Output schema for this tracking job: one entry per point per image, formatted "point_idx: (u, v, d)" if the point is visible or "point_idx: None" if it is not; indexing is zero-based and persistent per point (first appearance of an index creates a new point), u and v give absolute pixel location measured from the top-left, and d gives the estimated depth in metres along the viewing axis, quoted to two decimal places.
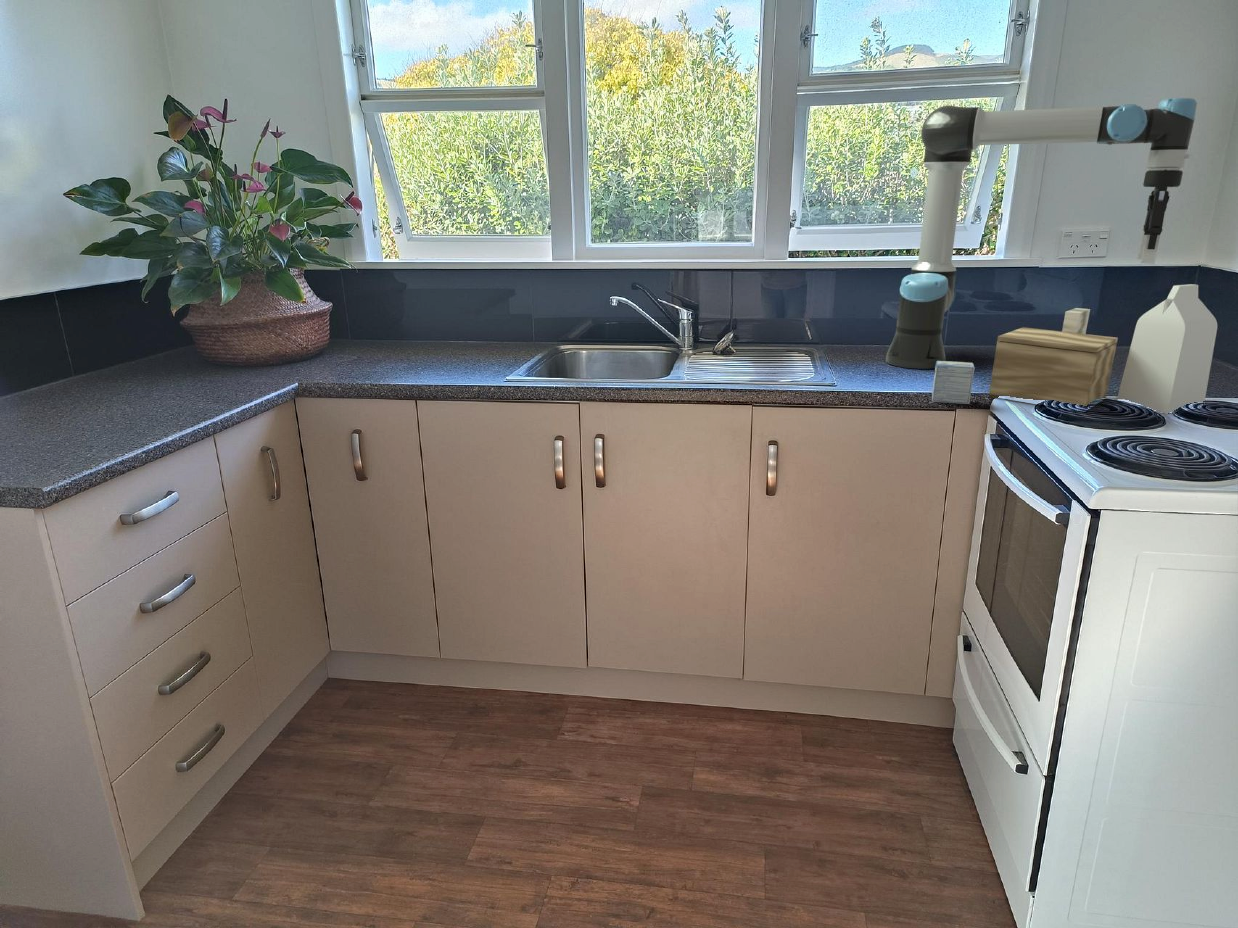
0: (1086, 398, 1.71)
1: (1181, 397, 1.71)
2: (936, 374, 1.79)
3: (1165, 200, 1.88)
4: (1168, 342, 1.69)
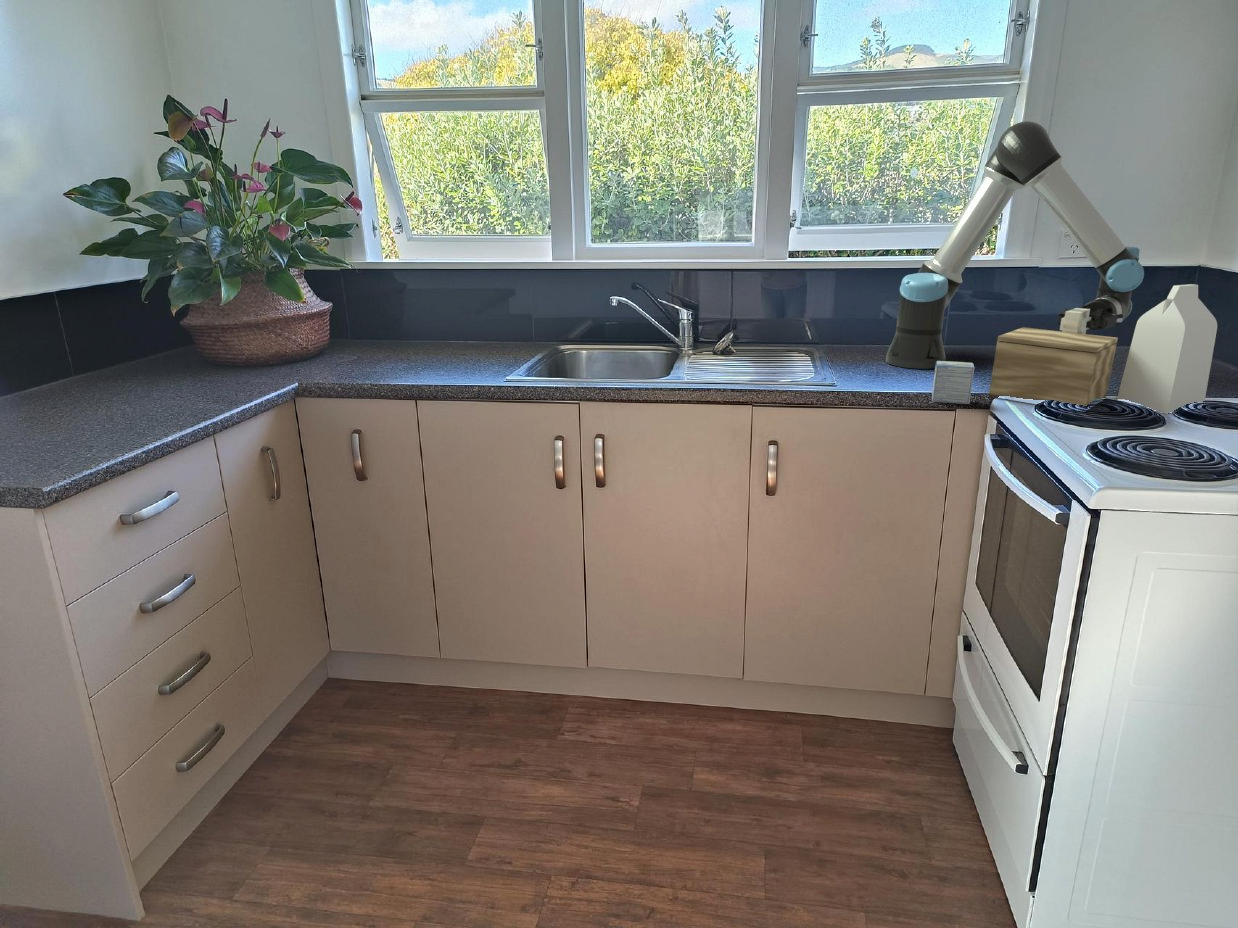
0: (1086, 398, 1.71)
1: (1181, 397, 1.71)
2: (936, 374, 1.79)
3: (1116, 324, 1.91)
4: (1168, 342, 1.69)
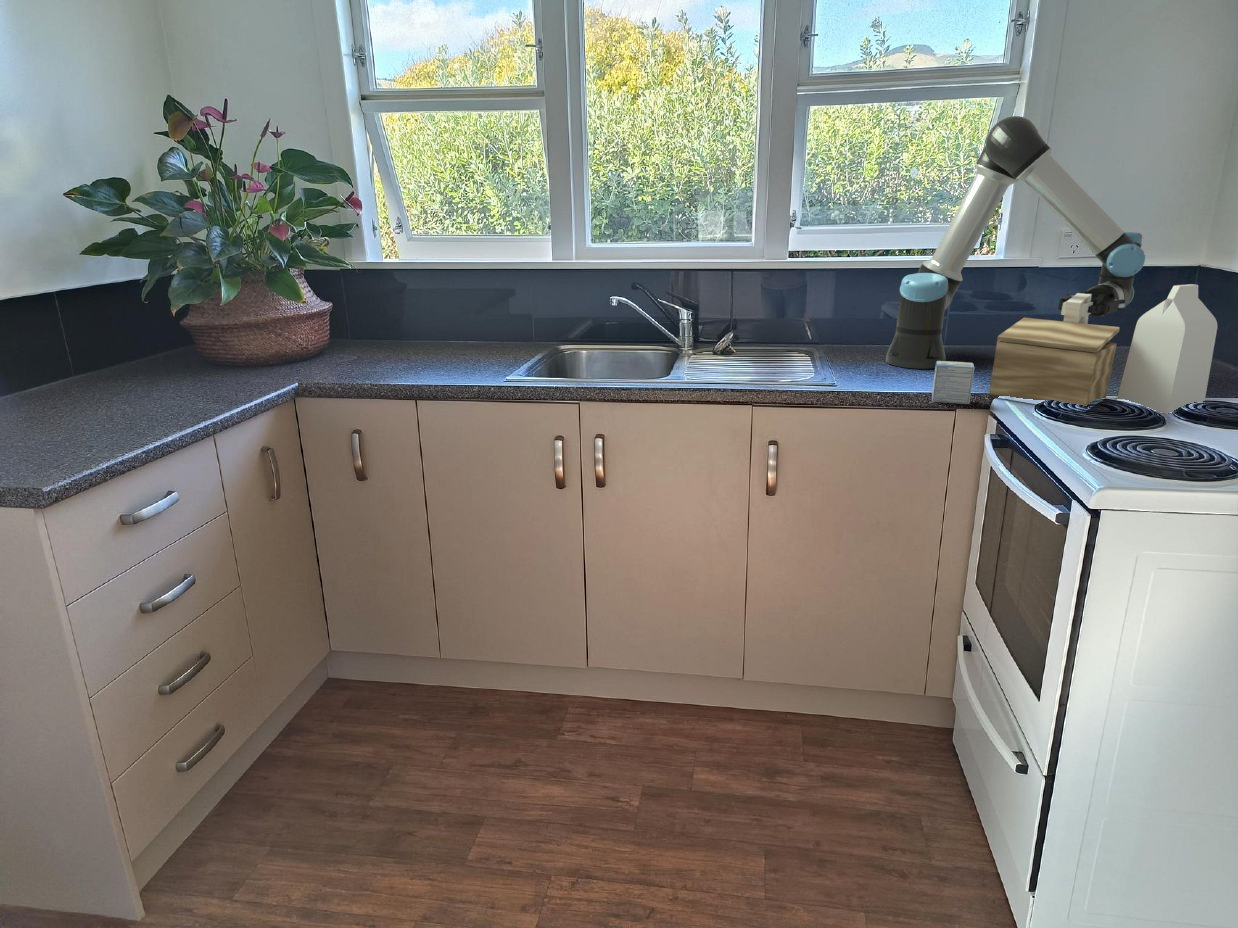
0: (1086, 398, 1.71)
1: (1181, 397, 1.71)
2: (936, 374, 1.79)
3: (1118, 310, 1.89)
4: (1168, 342, 1.69)
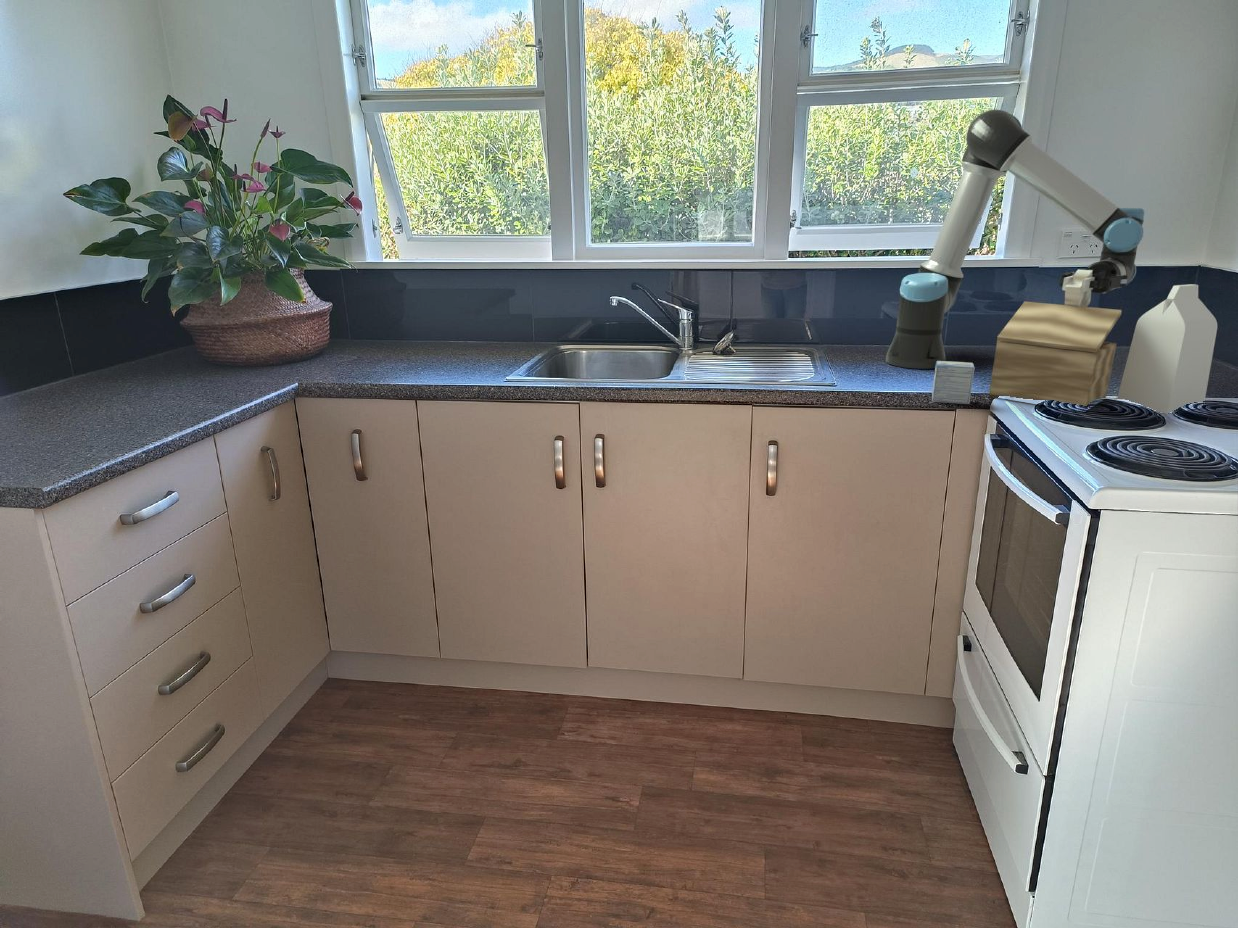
0: (1086, 398, 1.71)
1: (1181, 397, 1.71)
2: (936, 374, 1.79)
3: (1120, 285, 1.86)
4: (1168, 342, 1.69)
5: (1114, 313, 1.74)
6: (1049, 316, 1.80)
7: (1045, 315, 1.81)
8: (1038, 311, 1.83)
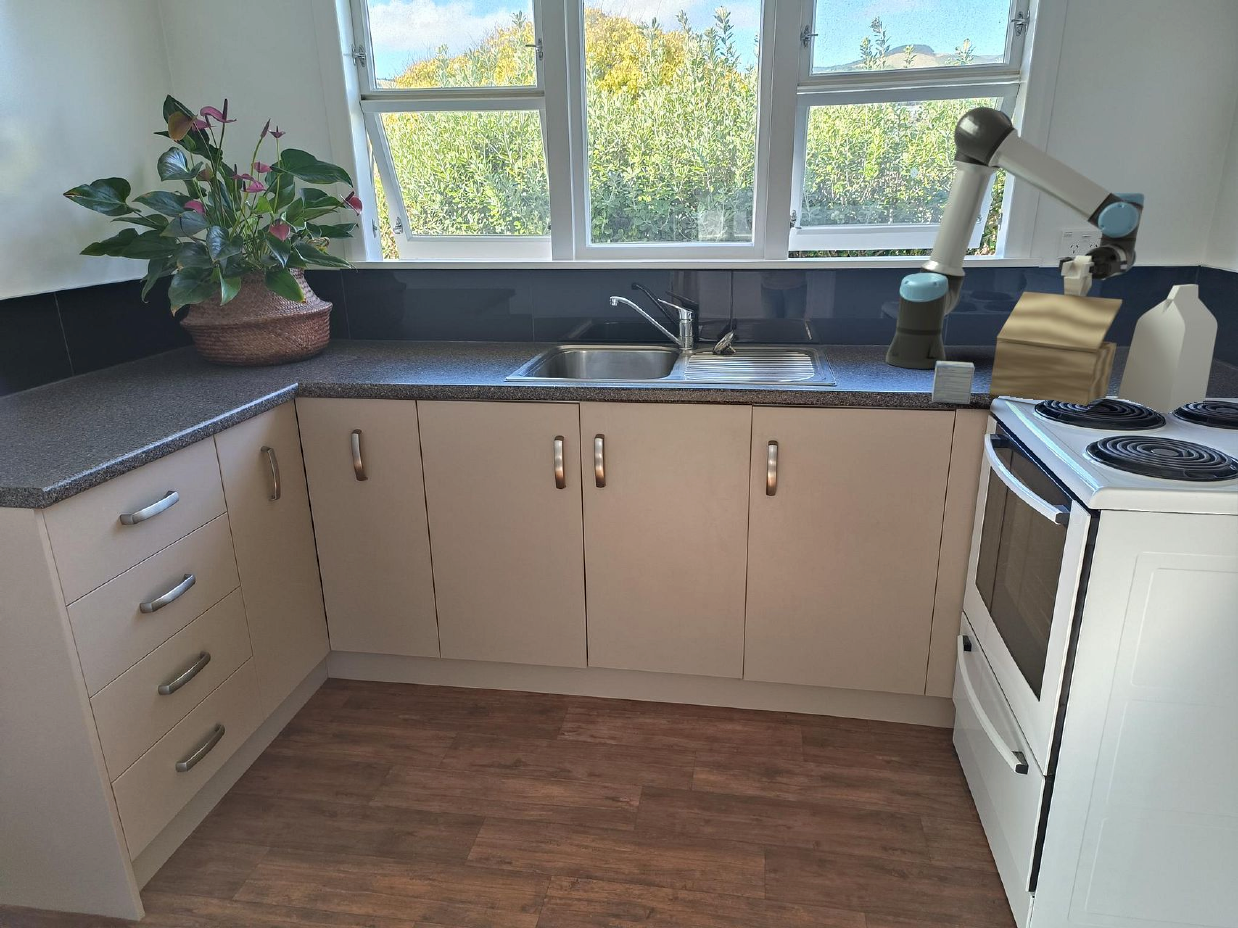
0: (1086, 398, 1.71)
1: (1181, 397, 1.71)
2: (936, 374, 1.79)
3: (1120, 271, 1.83)
4: (1168, 342, 1.69)
5: (1114, 304, 1.73)
6: (1049, 310, 1.79)
7: (1045, 308, 1.80)
8: (1038, 304, 1.82)
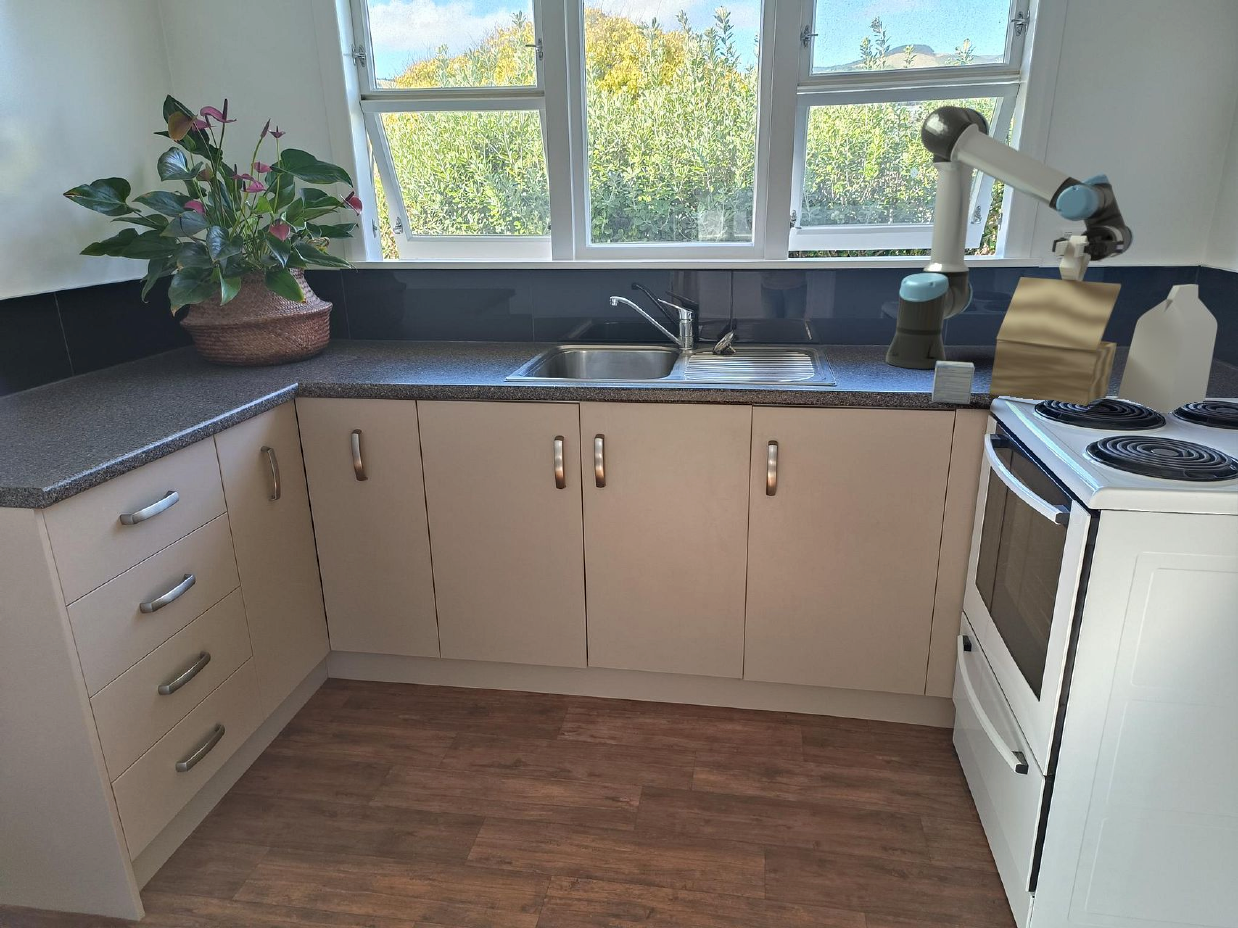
0: (1086, 398, 1.71)
1: (1181, 397, 1.71)
2: (936, 374, 1.79)
3: (1116, 251, 1.76)
4: (1168, 342, 1.69)
5: (1113, 290, 1.69)
6: (1047, 300, 1.77)
7: (1043, 299, 1.77)
8: (1035, 293, 1.79)
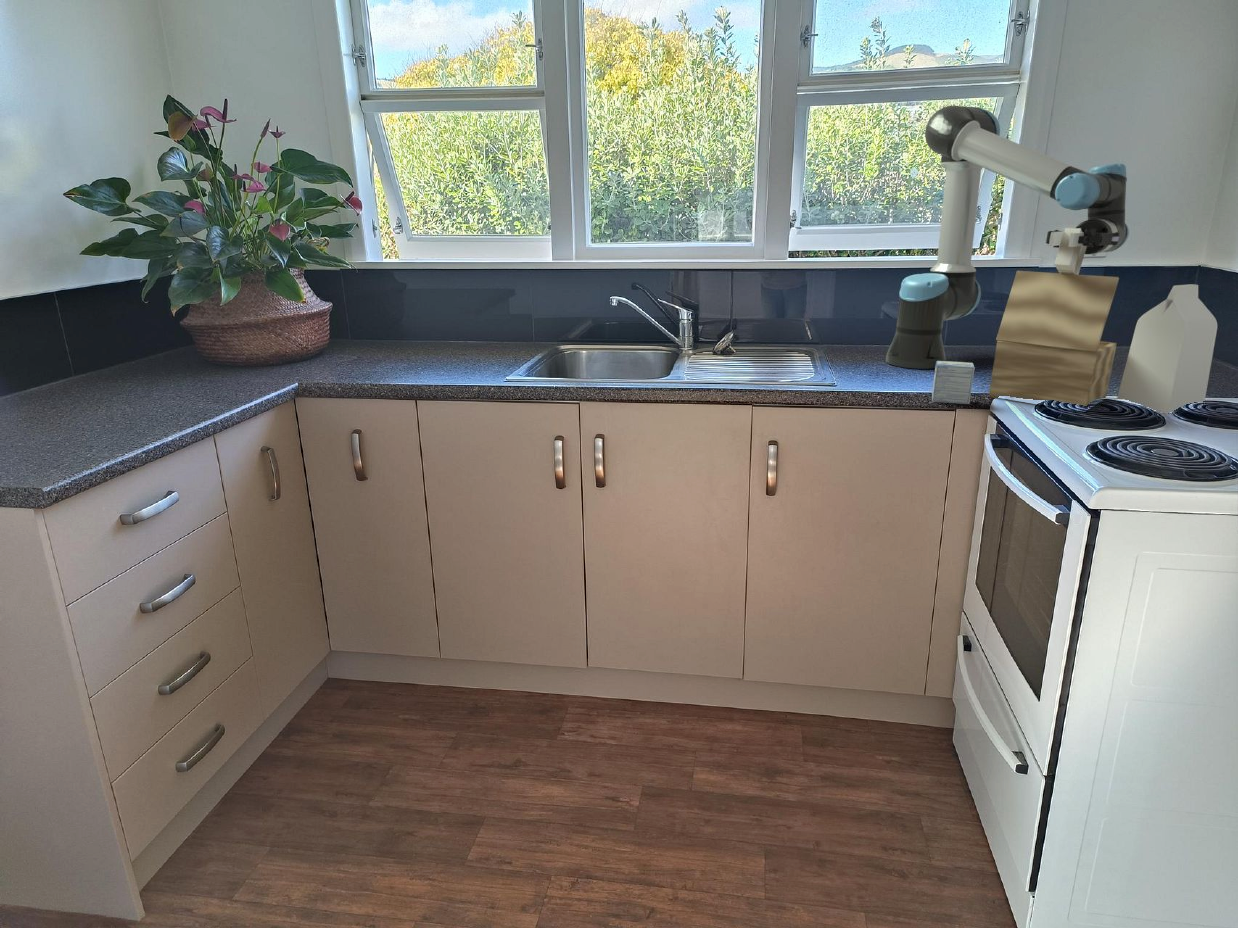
0: (1086, 398, 1.71)
1: (1181, 397, 1.71)
2: (936, 374, 1.79)
3: (1111, 243, 1.72)
4: (1168, 342, 1.69)
5: (1111, 284, 1.67)
6: (1044, 296, 1.75)
7: (1040, 295, 1.75)
8: (1032, 288, 1.77)
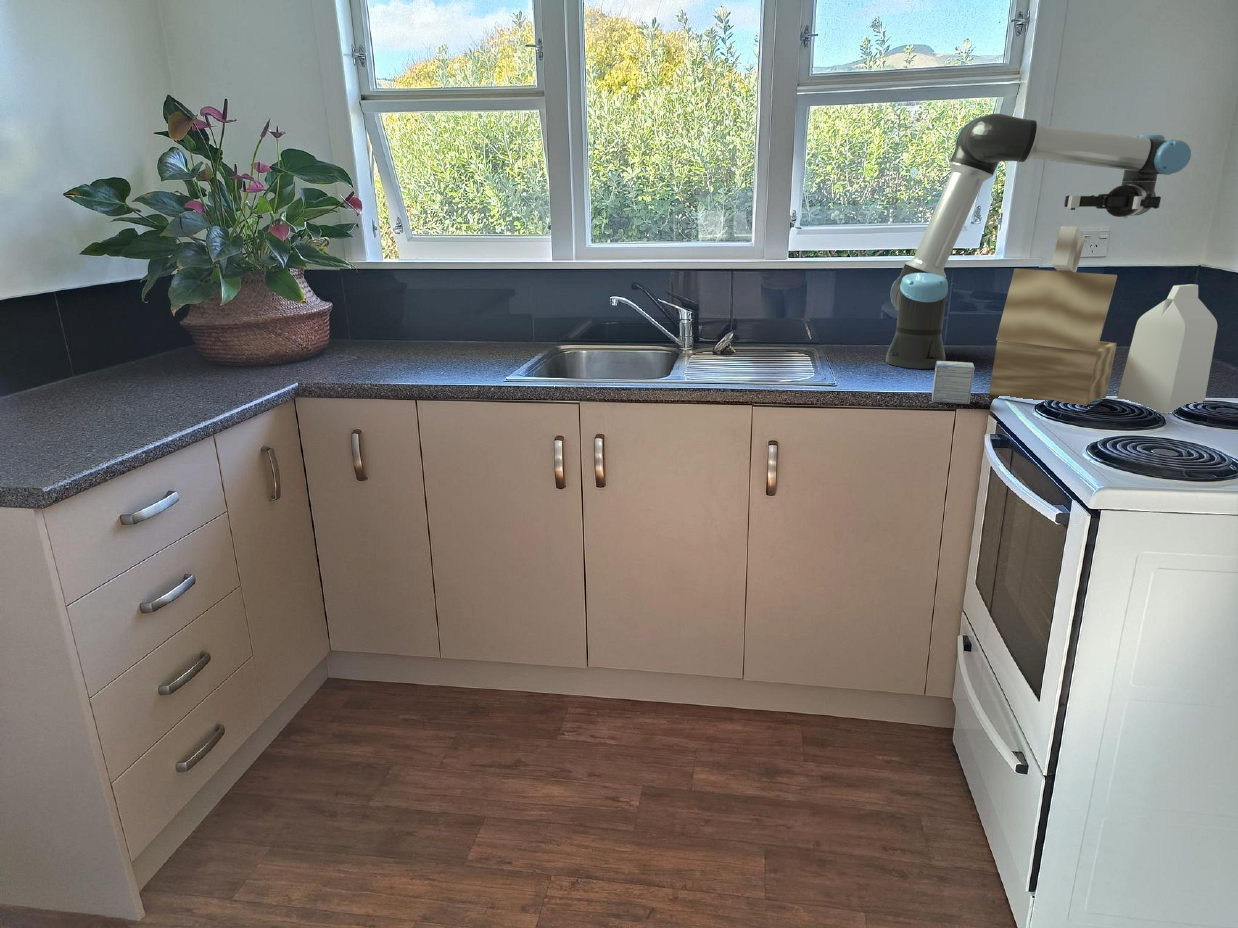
0: (1086, 398, 1.71)
1: (1181, 397, 1.71)
2: (936, 374, 1.79)
3: None
4: (1168, 342, 1.69)
5: (1109, 282, 1.66)
6: (1043, 295, 1.74)
7: (1038, 294, 1.74)
8: (1030, 287, 1.76)
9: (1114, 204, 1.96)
